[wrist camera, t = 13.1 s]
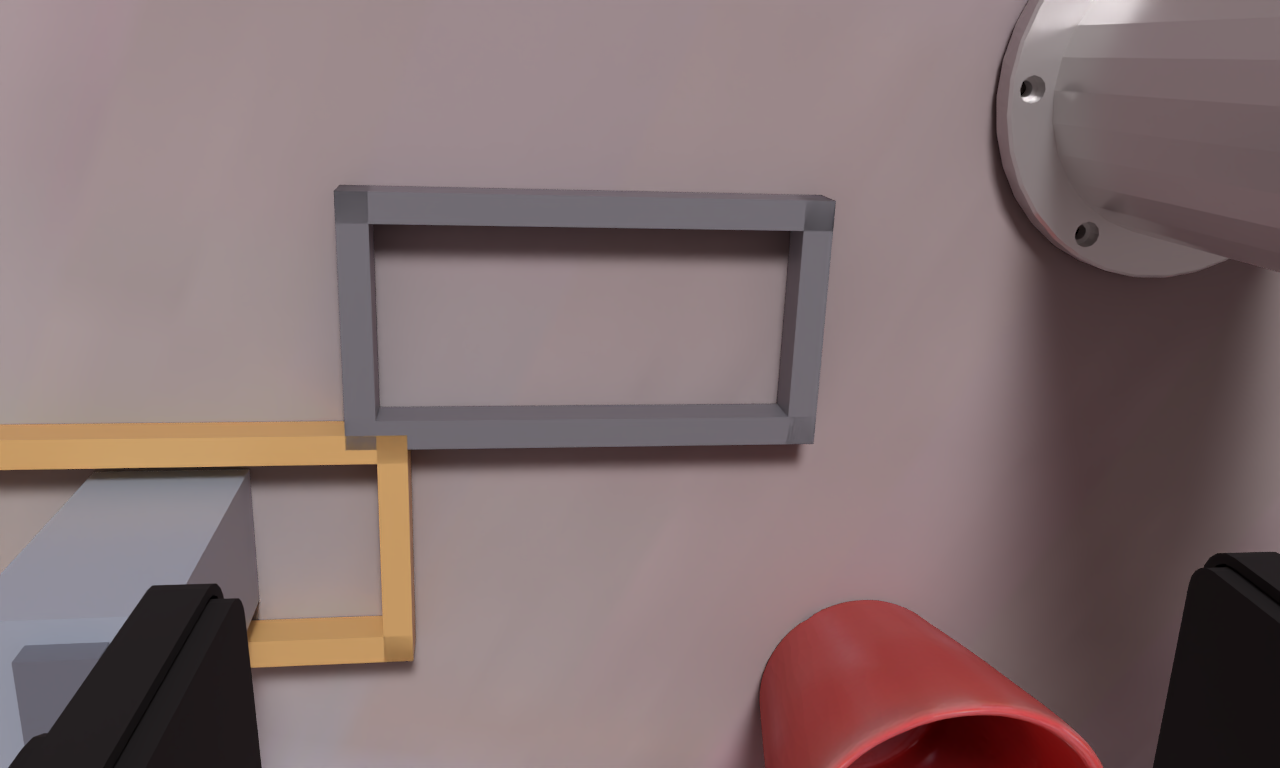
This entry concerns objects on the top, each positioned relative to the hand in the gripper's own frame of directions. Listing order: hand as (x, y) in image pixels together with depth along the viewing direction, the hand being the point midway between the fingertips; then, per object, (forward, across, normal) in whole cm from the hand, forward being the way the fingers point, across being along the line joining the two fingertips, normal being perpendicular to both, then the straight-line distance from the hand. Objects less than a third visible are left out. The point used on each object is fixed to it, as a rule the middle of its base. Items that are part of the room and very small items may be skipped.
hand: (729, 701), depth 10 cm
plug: (+26, +14, +10) cm, 32 cm away
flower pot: (+27, -11, +18) cm, 34 cm away
